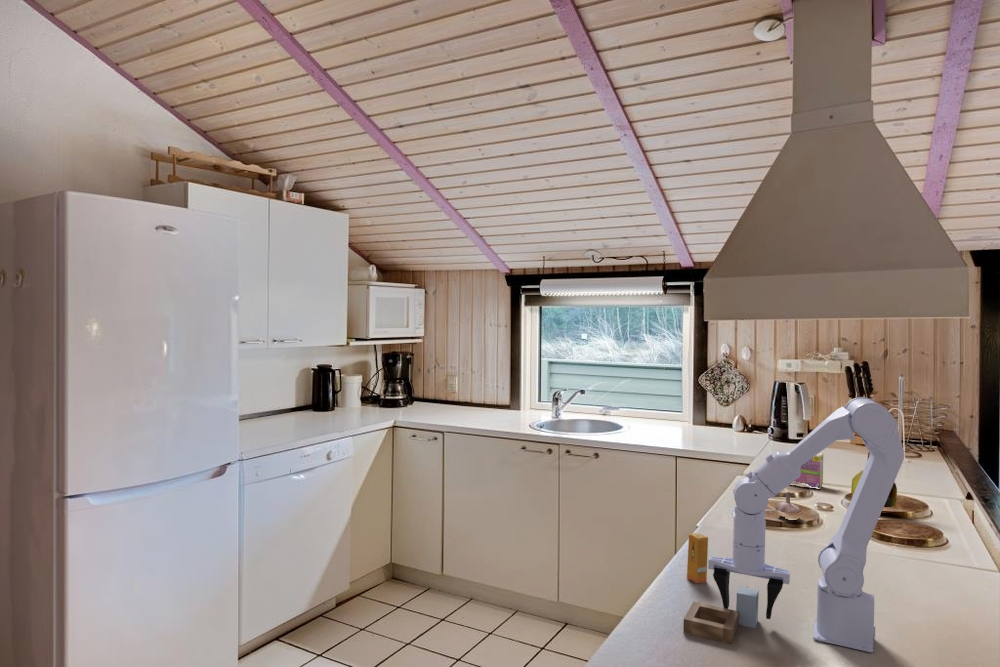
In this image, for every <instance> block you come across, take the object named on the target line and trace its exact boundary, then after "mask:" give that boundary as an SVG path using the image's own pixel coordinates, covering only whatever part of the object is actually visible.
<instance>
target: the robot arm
mask: <svg viewBox="0 0 1000 667" xmlns="http://www.w3.org/2000/svg"><path fill="white" fill-rule="evenodd" d="M854 433H856V434H857V435H858V436H859V437H860V438H861V441H862V442H863V444H864V446H865V447H866V449H867V451H868V453H870V456H869V458H868V457H867V460H866V464H865V466H864V468H863V473H862V475H861V477H860V480H859V482H858V485H857V487H856V490H855V492H854V494H853V497H852V499H851V498H850V502H849V504H848V507H847V509H846V512H845V515H844V517H843V518H842V521H841V523H840V526H839V528H838V531H837V532H835V533H834V534H833V535H832V537H831V539H830V542H829V543H827V545H826V546H825V547H823V548H822V549H821V550H820V551H819V554H818V557H817V562H818V566H819V568H820V570H821V572H822V575H821V577H820V578H819V579H818V580H817V597H816V598H817V599H816V600H817V601H816V619H815V620H814V625H813V626H814V627H813V632H812V633H813V635H812V639H813V640H815V641H819V642H823V643H828V644H833V645H837V646H841V647H845V648H850V649H855V650H859V651H863V652H868V653H874V638H876V626H875V595H874V594H871V593H868V592H865V591H863V589H862V588H863V587H864V583H865V575H864V568H865V566H866V563H867V548H868V545H869V543H870V540H871V538H872V535H873V533H874V530H875V528H876V527H877V523H878V521H879V519H880V517H881V515H882V514H881V512H882V510H883V507H884V505H885V503H886V500H887V498H888V495H889V493H890V491H891V488H892V486H893V484H894V482H895V481H896V479H897V476H898V473H899V471H900V469H901V467H902V464H903V462H904V458H905V451H904V449H903V448H904V447H903V445H902V440H901V437H900V433H899V423H898V422H897V420H896V419H895V418H894V416H893V415H892V413H891V412H890V411H889V409H887V408H886V407H885V406H884V405H882V404H879V403H877V402H876V401H875V400H873V399H871V398H870V397H869V398H868V397H864V396H858V397H855V398H851V399H850V400H849V401H848V402H847V403H846V404H845V406H841V407H839V408H837V409H836V410H835V411H834V412H832V413H831V414H830V415H828V417H826V418H825V419H824V420H822V422H821V423H819V424H818V425H817V426H816V427H814V429H813V430H811V431H810V432H809V433H808V434H807V435H806V436H805V437H804V438H803V439H802V440H800V441H799V442H798V443H797V444H796V445H794V446H793V447H792V448H791V449H790V450H789V451H787V452H785V451H784V452H783V451H782V452H781V451H777V452H776V453H774V454H772V453H768V454H767V455H766V456H765V460H766V461H764V462H763V463H762V464H761V465H760V466H758V467H757V468H755V469H754V470H753V471H751V470H750V471H748V472H747V473H746V477H743V478H741V479H739V480H738V481H737V482H736V483H735V485H734V488H733V491H732V492H733V496H734V502H735V506H734V510H733V511H734V515H733V529H732V531H733V532H732V533H733V534H732V536H733V538H732V557H722V556H721V557H718V556H709V558H707V570H712V571H713V573H712V576H713V580H714V582H715V583H716V585H717V589H718V590H719V593H720V597H721V601H722V608H726V609H729V608H730V607H729V606H730V578H731V577H730V575H731V573H734V574H739V575H744V576H745V575H746V576H750V577H755V578H761V579H765V580H768V582H767V585H766V587H767V588H766V591H767V592H766V593H767V597H766V598H767V600H766V604H767V605H766V610H765V611H766V612H765V617H766V618H765V619H766V620H771V617H772V612H773V607H774V604H775V602H776V600H777V598H778V597H779V594H780V592H781V591H782V589H783V585H784V584H785V585H790V582H791V570H789V569H788V570H787V569H783V568H779V567H776V566H773V565H770V564H766V563H765V560H766V559H765V556H766V553H765V552H766V527H767V526H766V524H767V522H766V519H765V510H766V509H767V507H768V504H769V499H771V498H774V497H776V496H778V494H780V493H781V492H782V491H784V490H785V489H786V488H787V487H788V486H789V485H790V484H791V483H792V482H793V481H795V480H796V479H797V478H798V477H800V469H801V466H802V465H803V464H804V463H806V462H807V461H809V460H810V459H811V458H813V457H814V456H815V455H817V454H818V453H821V452H822V451H824V450H825V449H826V448H828V447H829V446H831V445H832V444H833V443H835V442H836V441H844V440H845V441H846V440H856V436H855V434H854Z"/></svg>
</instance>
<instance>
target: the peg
mask: <svg viewBox="0 0 1000 667" xmlns="http://www.w3.org/2000/svg"><path fill="white" fill-rule="evenodd" d="M759 594H760V593H759V589H755V588H750V587H744V586H740V585H739V587H738V589H737V592H736V602H735V603H736V607H735V611H739V625H740V626H744V627H748V628H751V629H756V628H757V625H758V621H759ZM739 625H738V626H739Z"/></svg>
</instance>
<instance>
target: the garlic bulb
mask: <svg viewBox="0 0 1000 667" xmlns="http://www.w3.org/2000/svg"><path fill="white" fill-rule="evenodd" d="M775 509H776V510H779V511H781V512H786V513H799V512H801V511H802V509H801V508H799V506H797V505H795V504H793V503H791V491H787V492H786V495H785V501H781V502H779V503H777V504H776V505H775V507H774V510H775Z"/></svg>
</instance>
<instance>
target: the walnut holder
mask: <svg viewBox="0 0 1000 667" xmlns="http://www.w3.org/2000/svg"><path fill="white" fill-rule="evenodd" d="M738 627H739V611H736V609H735V610H734V609H730V608H728V609H726V608H723V607H721V606H716V605H711V604H708V603H707V604H706V603H703V602H697V601H692V603H691V605H690V607H689V608H688V611H687V612H686V614H685V616H684V618H683V629H682V631H683V633H685V634H689V635H693V636H698V637H701V638H706V639H710V640H714V641H718V642H722V643H726V644H732V643H733V640H734V638H735V636H736V632H737V630H738Z"/></svg>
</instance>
